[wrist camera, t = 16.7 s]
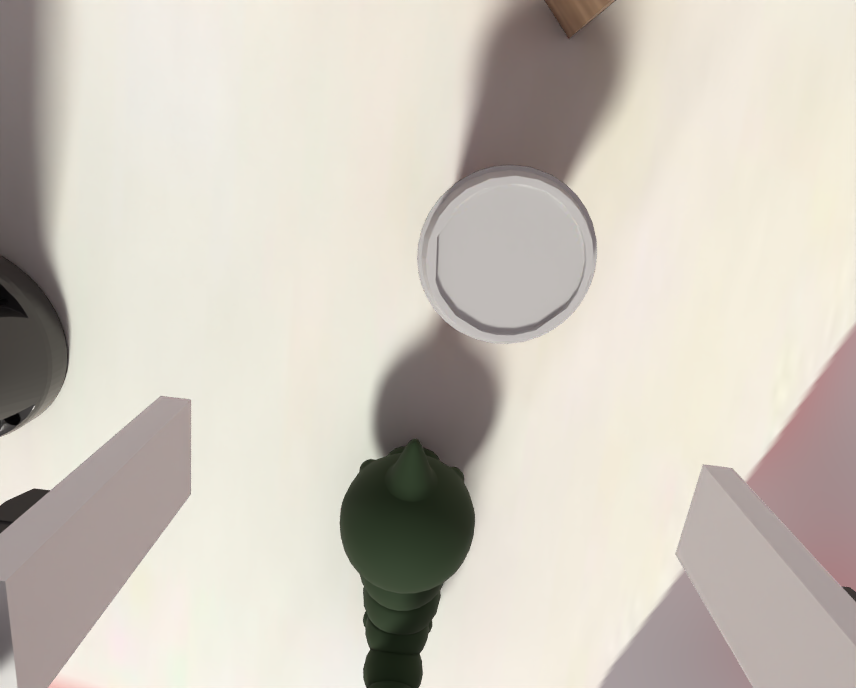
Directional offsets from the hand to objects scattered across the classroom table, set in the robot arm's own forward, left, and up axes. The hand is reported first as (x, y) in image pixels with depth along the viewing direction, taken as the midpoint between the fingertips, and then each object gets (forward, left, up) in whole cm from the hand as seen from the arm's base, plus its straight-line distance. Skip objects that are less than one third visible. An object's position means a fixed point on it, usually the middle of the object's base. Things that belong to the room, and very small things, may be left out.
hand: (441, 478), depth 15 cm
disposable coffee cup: (+3, +3, -29) cm, 29 cm away
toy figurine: (0, -22, -29) cm, 36 cm away
